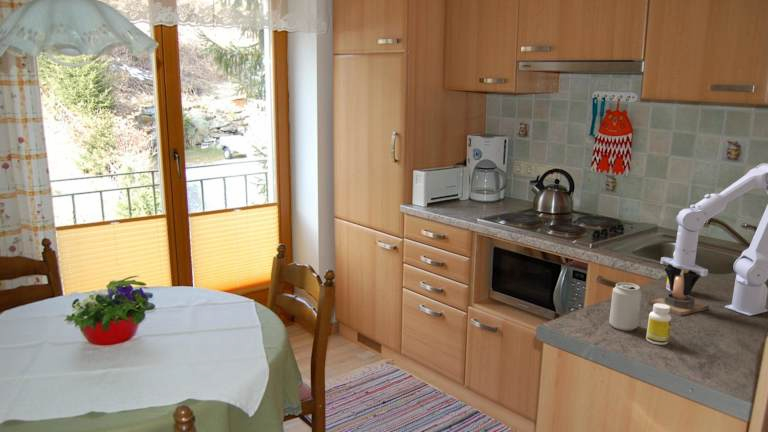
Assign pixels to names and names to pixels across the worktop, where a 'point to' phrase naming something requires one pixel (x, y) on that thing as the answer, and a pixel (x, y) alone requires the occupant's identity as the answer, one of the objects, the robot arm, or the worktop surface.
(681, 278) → the peach rounded peg
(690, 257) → the robot arm
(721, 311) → the worktop surface
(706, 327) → the worktop surface
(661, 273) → the worktop surface
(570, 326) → the worktop surface
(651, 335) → the supplement bottle
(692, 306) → the octagonal holder plate
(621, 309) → the can
